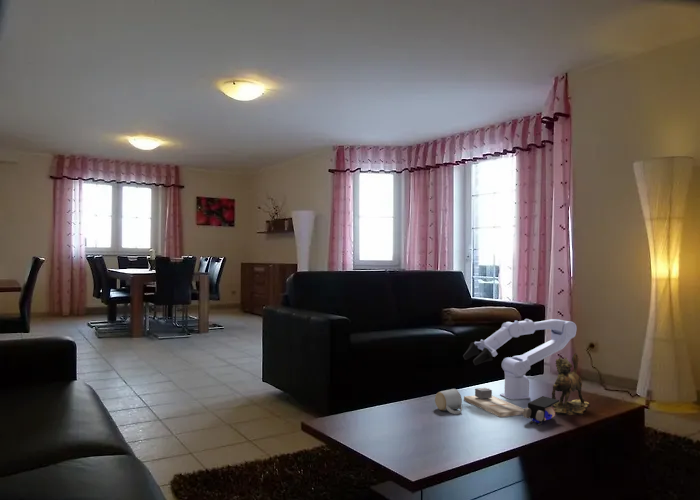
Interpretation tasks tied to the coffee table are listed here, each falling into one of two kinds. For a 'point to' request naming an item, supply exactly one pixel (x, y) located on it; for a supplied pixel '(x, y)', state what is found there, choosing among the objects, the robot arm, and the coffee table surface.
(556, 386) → the figurine
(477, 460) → the coffee table surface
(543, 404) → the figurine character
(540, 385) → the coffee table surface
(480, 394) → the fader tab
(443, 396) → the ceramic mug
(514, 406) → the fader console
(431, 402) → the coffee table surface
